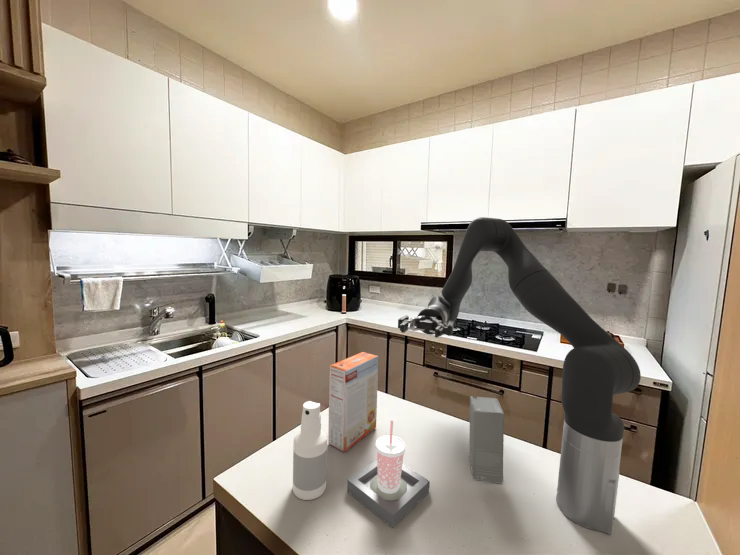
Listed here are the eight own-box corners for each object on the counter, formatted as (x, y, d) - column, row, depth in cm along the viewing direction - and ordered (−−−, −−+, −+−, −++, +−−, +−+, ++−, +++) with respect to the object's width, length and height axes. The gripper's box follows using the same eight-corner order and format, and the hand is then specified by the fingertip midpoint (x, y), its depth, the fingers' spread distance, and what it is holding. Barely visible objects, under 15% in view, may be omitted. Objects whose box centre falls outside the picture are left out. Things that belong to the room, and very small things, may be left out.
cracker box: (359, 420, 91) (362, 350, 89) (376, 428, 87) (380, 355, 85) (326, 444, 79) (328, 364, 78) (344, 453, 76) (347, 370, 74)
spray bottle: (285, 494, 63) (287, 408, 61) (304, 472, 69) (305, 394, 67) (315, 505, 60) (318, 416, 59) (332, 481, 67) (334, 400, 65)
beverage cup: (385, 501, 60) (388, 432, 59) (368, 480, 66) (371, 417, 64) (409, 489, 64) (413, 423, 62) (391, 470, 69) (394, 409, 68)
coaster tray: (429, 492, 65) (429, 480, 65) (392, 528, 56) (393, 515, 56) (385, 463, 73) (385, 453, 73) (347, 490, 64) (347, 479, 64)
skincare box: (503, 485, 68) (509, 415, 66) (468, 479, 69) (473, 410, 68) (495, 460, 76) (500, 397, 74) (465, 455, 77) (469, 393, 76)
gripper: (410, 303, 95) (392, 312, 80) (458, 308, 89) (449, 319, 74) (408, 328, 95) (391, 341, 80) (456, 334, 90) (447, 350, 75)
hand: (419, 331), depth 77 cm, fingers open, 8 cm apart
